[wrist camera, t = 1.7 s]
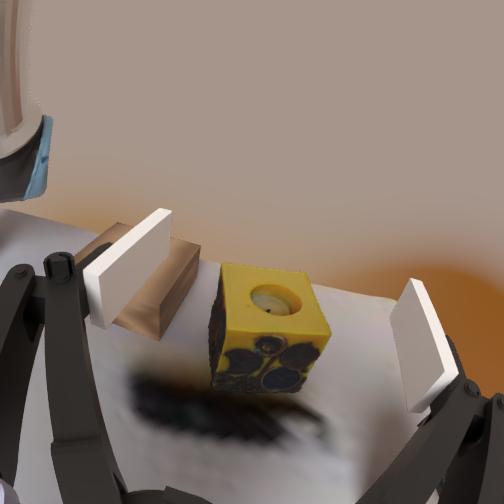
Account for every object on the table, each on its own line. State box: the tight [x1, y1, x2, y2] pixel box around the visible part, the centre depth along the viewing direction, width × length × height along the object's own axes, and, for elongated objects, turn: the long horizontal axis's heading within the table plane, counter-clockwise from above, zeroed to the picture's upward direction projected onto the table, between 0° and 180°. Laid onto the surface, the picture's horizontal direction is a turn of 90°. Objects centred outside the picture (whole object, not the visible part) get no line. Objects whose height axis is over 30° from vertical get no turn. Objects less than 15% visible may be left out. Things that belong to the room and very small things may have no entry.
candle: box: [208, 263, 332, 393], centre depth 32 cm, size 10×10×10 cm
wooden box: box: [74, 222, 201, 341], centre depth 39 cm, size 14×14×6 cm
